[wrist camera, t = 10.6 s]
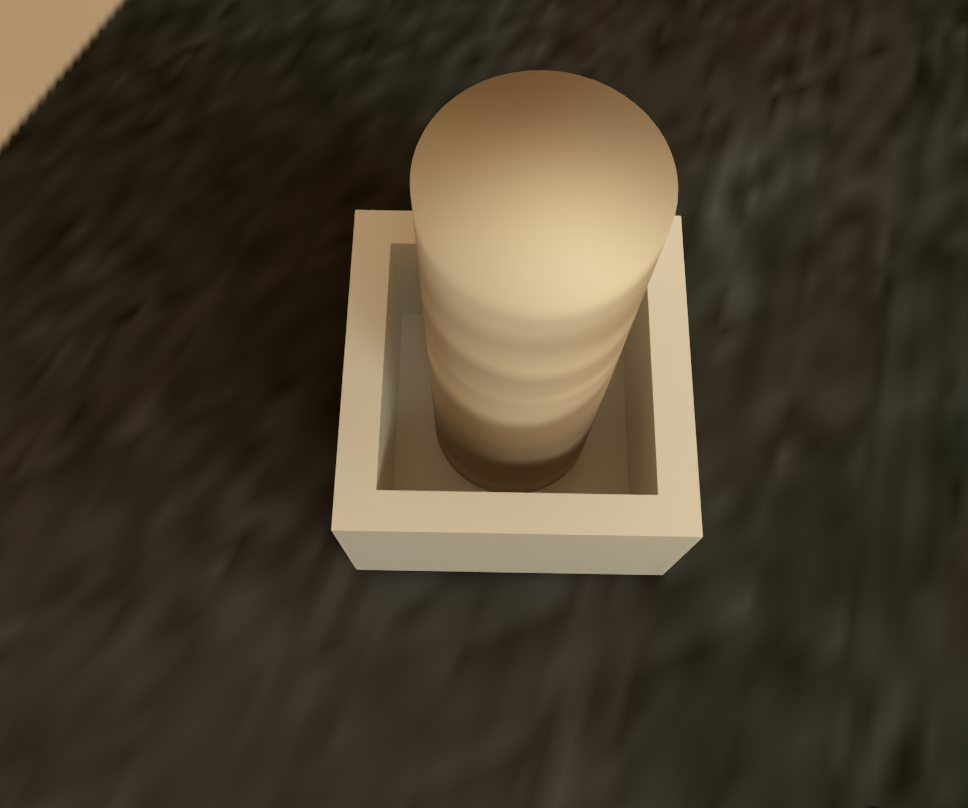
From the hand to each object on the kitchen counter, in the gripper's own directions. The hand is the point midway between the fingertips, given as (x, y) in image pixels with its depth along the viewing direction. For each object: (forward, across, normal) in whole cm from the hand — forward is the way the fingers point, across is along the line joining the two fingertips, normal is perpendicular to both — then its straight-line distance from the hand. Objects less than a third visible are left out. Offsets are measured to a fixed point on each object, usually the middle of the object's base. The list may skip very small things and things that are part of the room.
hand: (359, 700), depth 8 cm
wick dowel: (+13, 0, +3) cm, 14 cm away
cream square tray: (+14, 0, +4) cm, 14 cm away
